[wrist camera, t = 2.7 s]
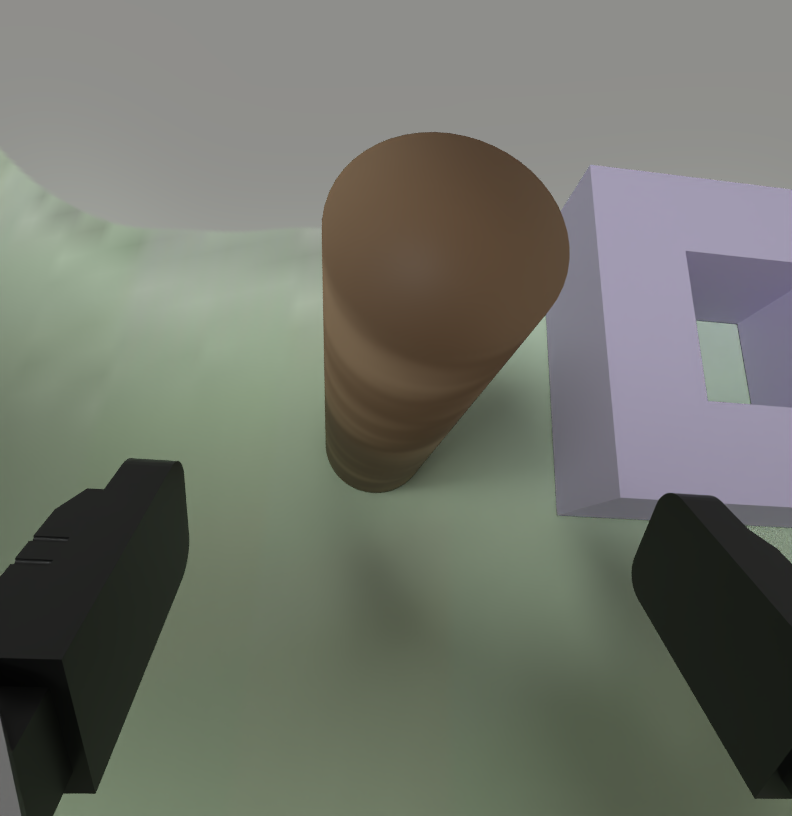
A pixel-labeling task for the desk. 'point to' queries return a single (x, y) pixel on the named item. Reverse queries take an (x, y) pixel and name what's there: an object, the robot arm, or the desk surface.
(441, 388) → the dowel
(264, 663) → the desk surface
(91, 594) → the robot arm
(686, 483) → the socket
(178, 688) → the desk surface
